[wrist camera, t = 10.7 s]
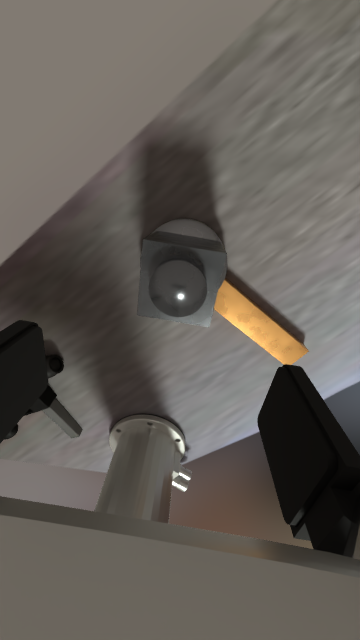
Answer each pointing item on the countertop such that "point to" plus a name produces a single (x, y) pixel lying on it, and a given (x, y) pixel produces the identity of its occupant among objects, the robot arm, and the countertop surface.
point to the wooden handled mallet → (243, 303)
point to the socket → (180, 277)
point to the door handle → (53, 403)
